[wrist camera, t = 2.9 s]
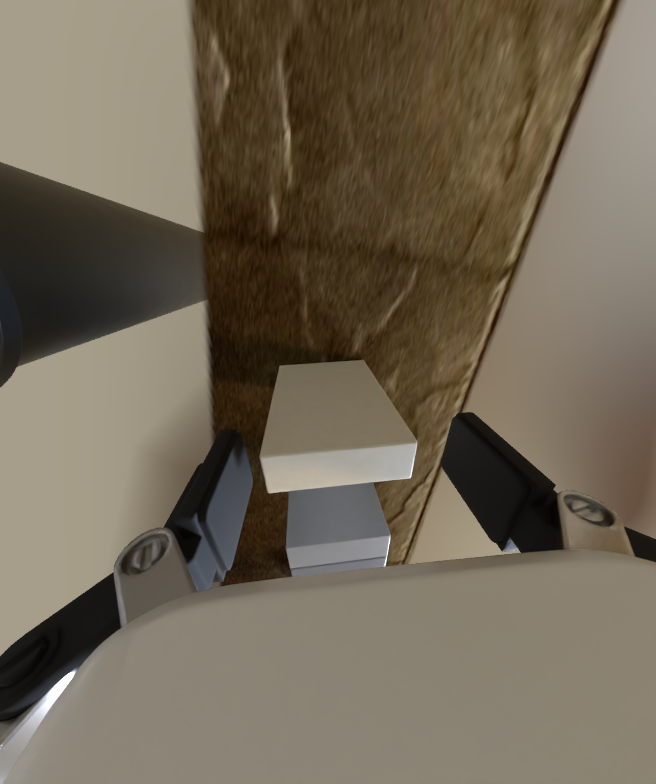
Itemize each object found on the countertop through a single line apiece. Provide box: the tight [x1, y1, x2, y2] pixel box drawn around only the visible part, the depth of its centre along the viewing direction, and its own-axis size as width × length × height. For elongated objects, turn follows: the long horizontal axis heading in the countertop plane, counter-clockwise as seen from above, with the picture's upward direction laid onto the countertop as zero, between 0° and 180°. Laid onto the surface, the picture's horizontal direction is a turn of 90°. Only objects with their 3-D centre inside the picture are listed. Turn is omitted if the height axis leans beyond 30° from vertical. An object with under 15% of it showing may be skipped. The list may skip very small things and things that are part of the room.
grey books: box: [286, 482, 390, 577], centre depth 18 cm, size 6×4×8 cm
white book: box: [259, 360, 417, 493], centre depth 13 cm, size 6×2×9 cm, turn 92°
